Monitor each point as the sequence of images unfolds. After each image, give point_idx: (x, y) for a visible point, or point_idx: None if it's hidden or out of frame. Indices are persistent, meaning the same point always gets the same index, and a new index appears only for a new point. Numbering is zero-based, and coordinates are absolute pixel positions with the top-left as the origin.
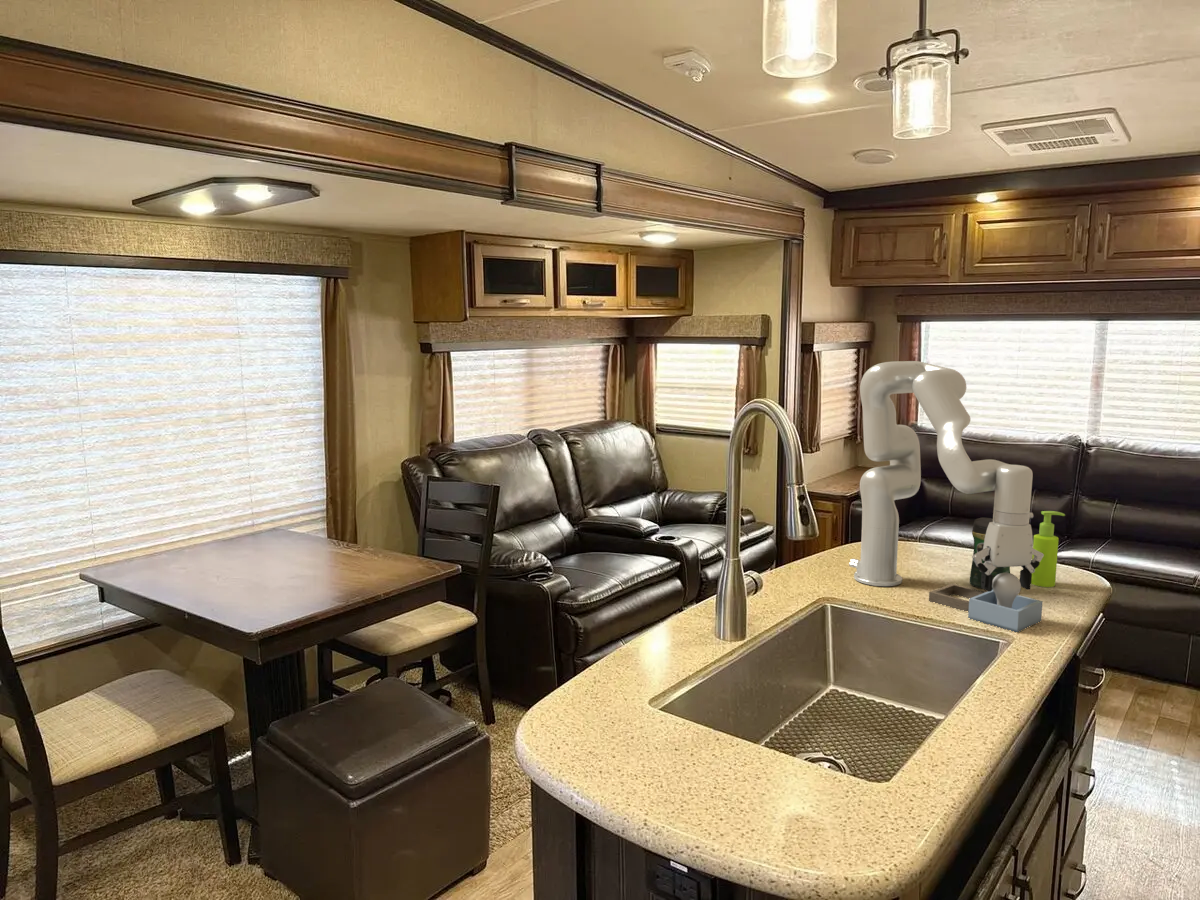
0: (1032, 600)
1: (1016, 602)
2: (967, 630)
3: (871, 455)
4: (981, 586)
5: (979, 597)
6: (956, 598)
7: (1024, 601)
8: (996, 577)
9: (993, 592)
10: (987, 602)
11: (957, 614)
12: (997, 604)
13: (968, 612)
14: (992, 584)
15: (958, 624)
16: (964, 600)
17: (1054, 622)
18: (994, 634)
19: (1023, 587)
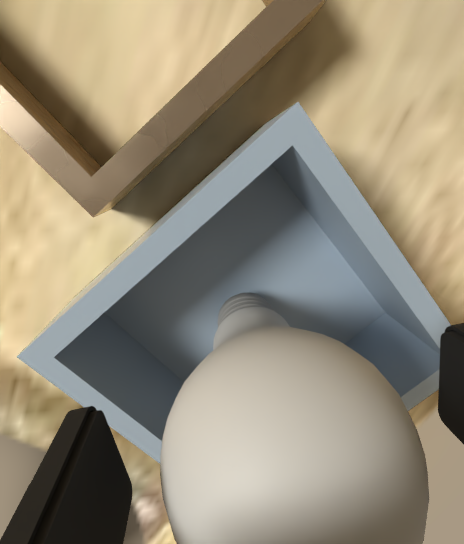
0: (431, 340)
1: (361, 259)
2: (35, 433)
3: None
4: (68, 415)
5: (107, 309)
6: (8, 112)
7: (396, 300)
8: (189, 541)
9: (265, 168)
10: (125, 416)
11: (31, 233)
12: (213, 342)
13: (60, 311)
14: (161, 450)
15: (8, 372)
16: (59, 162)
17: (448, 312)
18: (137, 458)
19: (440, 381)
